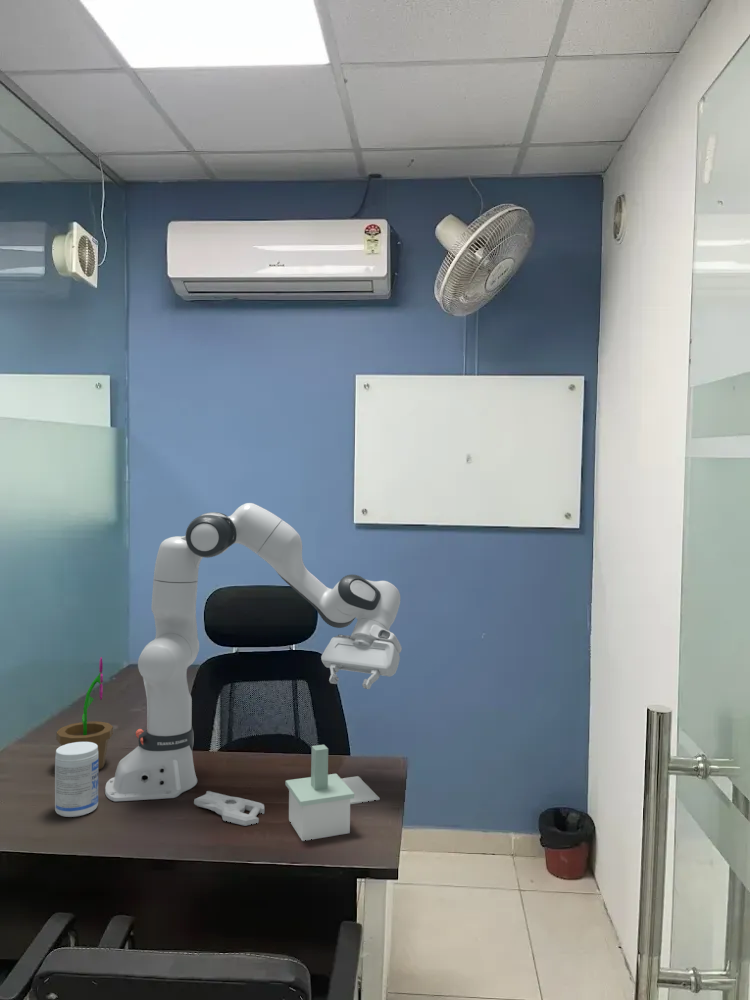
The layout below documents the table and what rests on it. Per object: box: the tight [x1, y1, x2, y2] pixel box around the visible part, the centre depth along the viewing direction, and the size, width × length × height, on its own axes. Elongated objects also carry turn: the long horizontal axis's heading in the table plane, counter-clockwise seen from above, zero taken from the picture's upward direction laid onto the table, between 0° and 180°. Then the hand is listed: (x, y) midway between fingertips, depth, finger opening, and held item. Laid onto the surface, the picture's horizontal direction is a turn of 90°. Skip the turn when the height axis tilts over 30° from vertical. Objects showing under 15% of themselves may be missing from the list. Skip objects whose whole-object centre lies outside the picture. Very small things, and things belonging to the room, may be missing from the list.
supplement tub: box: [54, 742, 99, 818], centre depth 173 cm, size 10×10×15 cm
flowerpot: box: [55, 656, 114, 771], centre depth 200 cm, size 14×14×30 cm
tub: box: [288, 789, 351, 842], centre depth 167 cm, size 11×11×8 cm
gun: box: [193, 790, 266, 827], centre depth 173 cm, size 18×3×10 cm
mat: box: [340, 775, 380, 805], centre depth 186 cm, size 15×15×1 cm
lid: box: [285, 744, 354, 806], centre depth 167 cm, size 12×12×11 cm
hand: (348, 685), depth 179 cm, fingers open, 8 cm apart
